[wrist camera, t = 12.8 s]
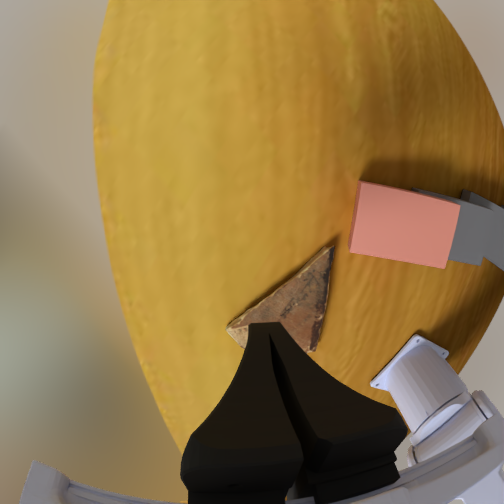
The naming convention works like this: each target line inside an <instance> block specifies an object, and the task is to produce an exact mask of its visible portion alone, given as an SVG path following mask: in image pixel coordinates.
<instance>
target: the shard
mask: <svg viewBox="0 0 504 504" xmlns="http://www.w3.org/2000/svg"><path fill="white" fill-rule="evenodd" d="M334 248H335V246H332V247H328V248H327V247H326V246H325V247H323V248H322V249H321V250H320V251H319V252H318V253H317V254H316V255H315V256H314V257H312V258H311V259H310V260H309V261H308V262H307V263H306V264H305V265H304V267H303V268H302V269H300V270H299V272H298V273H297V274H296V275H294V276H293V277H292V278H291V279H289V280H288V281H287V282H286V283H284V284H282V285H281V286H280V287H279V288H278V289H276V290H275V291H274V292H273V293H272V294H271V295H269V296H268V297H266V298H265V299H263V300H262V301H261V302H260V303H259V304H257V305H256V306H254V307H252V308H250V309H248V310H247V311H246V312H245V313H244V314H242V315H241V316H240V317H238V318H236V319H235V320H233V321H232V322H231V324H229V325H228V326H227V327H226V331H227V332H228V333H229V335H230V336H231V337H232V338H234V340H235V341H236V342H237V343H238V344H239V345H240V346H241V347H242V348H244V349H245V347H246V344H247V339H248V325H249V324H250V323H263V322H280V323H281V324H282V325H283V326H284V328H285V329H286V330H287V332H288V333H289V334H290V335H291V337H292V338H293V339H294V340H295V341H296V343H297V344H298V345H299V346H300V347H301V348H302V349H303V350H304V351H305V353H306V354H307V353H308V352H314V351H316V348H317V345H318V340H319V336H320V328H321V326H322V323H323V317H324V313H325V310H326V303H327V297H328V290H329V281H330V280H329V276H330V270H331V264H332V262H333V259H334Z"/></svg>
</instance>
